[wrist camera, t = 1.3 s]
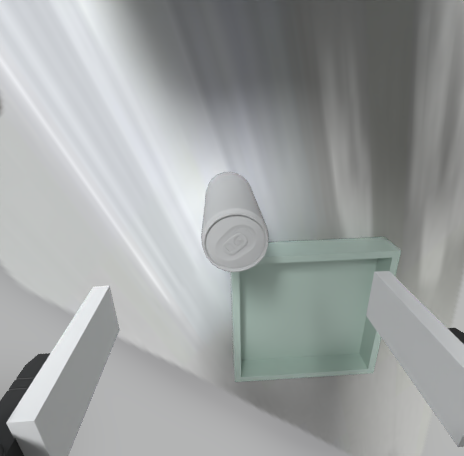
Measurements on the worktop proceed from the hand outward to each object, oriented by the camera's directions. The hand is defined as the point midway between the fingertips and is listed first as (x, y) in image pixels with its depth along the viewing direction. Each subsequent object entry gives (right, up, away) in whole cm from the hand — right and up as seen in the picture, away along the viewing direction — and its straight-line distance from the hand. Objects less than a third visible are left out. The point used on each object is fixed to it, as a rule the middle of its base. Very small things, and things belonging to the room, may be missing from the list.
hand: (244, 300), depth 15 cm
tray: (+8, -6, +23) cm, 25 cm away
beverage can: (-1, +7, +17) cm, 18 cm away
